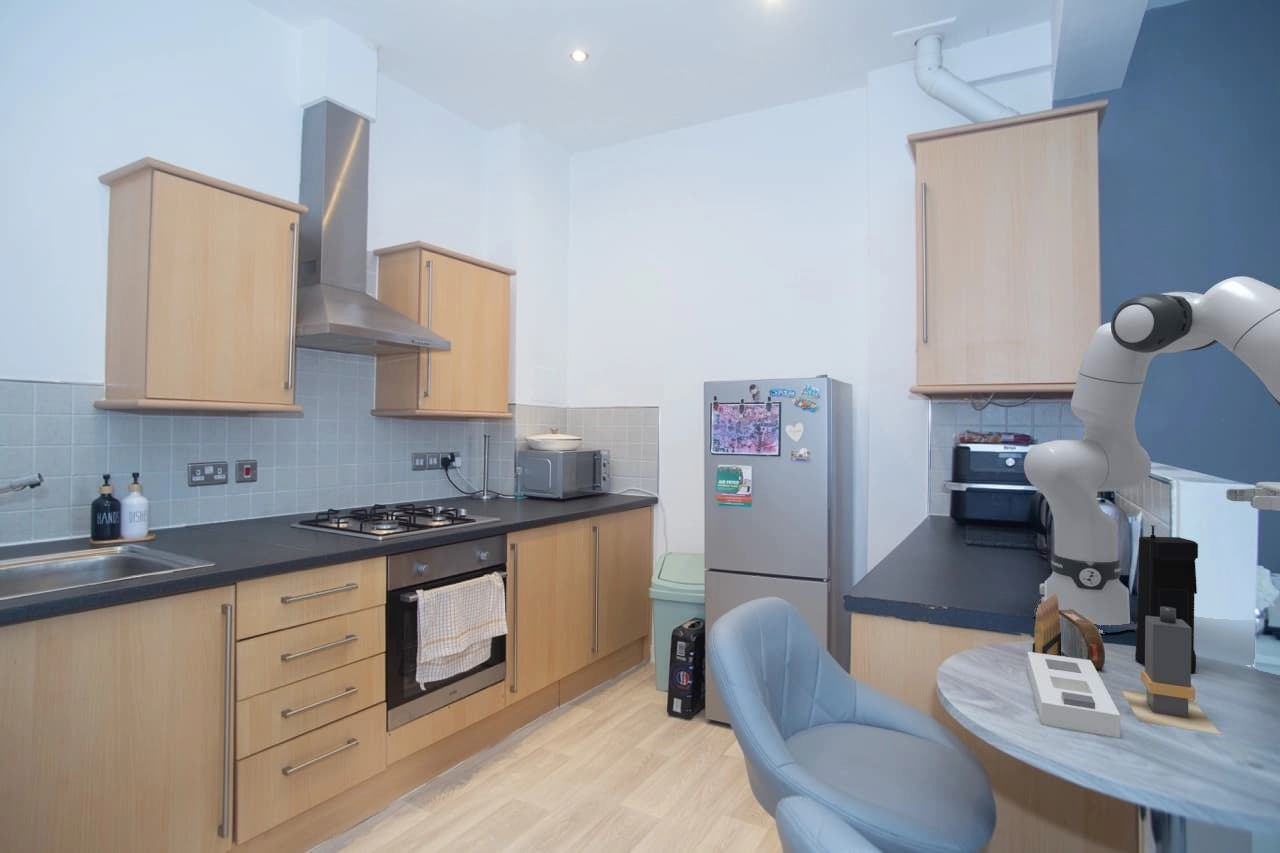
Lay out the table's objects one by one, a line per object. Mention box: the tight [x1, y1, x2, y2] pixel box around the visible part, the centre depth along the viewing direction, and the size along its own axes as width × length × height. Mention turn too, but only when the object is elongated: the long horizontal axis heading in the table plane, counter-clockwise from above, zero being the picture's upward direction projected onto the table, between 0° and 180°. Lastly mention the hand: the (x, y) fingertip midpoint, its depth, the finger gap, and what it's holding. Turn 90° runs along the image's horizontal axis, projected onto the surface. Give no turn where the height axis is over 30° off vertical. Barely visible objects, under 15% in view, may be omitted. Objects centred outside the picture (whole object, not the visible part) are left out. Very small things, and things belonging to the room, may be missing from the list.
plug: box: [1140, 606, 1196, 718], centre depth 96 cm, size 5×5×15 cm
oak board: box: [1120, 688, 1222, 735], centre depth 96 cm, size 12×9×1 cm
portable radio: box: [1134, 524, 1199, 674], centre depth 115 cm, size 8×6×25 cm
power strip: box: [1026, 651, 1121, 739], centre depth 100 cm, size 22×9×5 cm, turn 154°
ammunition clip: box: [1031, 594, 1062, 656], centre depth 116 cm, size 11×2×12 cm, turn 134°
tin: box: [1059, 609, 1106, 670], centre depth 118 cm, size 15×3×8 cm, turn 168°
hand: (1239, 498), depth 97 cm, fingers open, 8 cm apart
